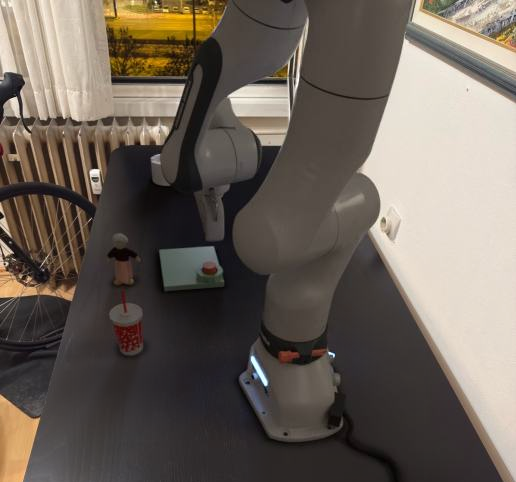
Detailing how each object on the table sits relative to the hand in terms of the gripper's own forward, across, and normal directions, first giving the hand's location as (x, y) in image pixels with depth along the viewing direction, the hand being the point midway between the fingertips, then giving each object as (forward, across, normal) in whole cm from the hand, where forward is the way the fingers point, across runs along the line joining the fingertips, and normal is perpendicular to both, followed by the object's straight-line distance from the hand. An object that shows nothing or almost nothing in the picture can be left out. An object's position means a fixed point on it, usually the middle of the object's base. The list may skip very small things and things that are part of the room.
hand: (208, 237), depth 107 cm
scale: (+12, +4, +4) cm, 13 cm away
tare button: (+9, -1, 0) cm, 9 cm away
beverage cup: (+12, -22, +19) cm, 31 cm away
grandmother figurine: (+12, +1, +19) cm, 23 cm away
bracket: (+13, +56, 0) cm, 58 cm away
